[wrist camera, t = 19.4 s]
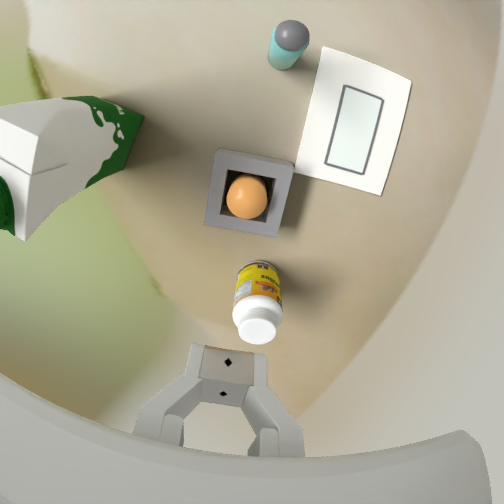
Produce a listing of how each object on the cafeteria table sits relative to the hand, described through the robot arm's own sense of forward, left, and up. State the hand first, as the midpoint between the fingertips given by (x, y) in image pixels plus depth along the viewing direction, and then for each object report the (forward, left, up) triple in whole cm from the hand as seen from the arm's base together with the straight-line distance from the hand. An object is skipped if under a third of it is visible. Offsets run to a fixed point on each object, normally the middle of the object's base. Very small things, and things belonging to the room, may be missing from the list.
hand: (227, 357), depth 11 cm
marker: (-15, +1, -23) cm, 28 cm away
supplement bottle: (+11, +4, -23) cm, 26 cm away
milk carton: (-5, -17, -23) cm, 29 cm away
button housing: (0, 0, -23) cm, 23 cm away
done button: (0, 0, -22) cm, 22 cm away
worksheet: (-11, +10, -23) cm, 27 cm away
